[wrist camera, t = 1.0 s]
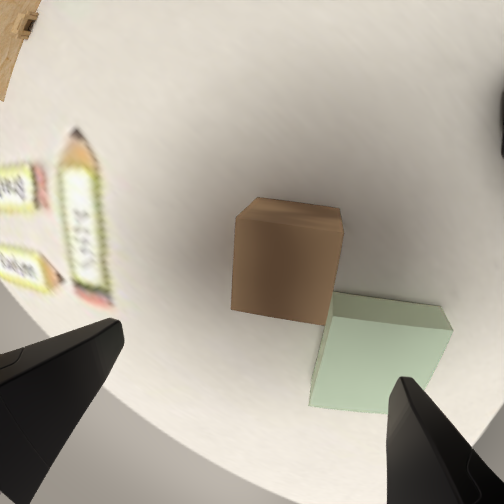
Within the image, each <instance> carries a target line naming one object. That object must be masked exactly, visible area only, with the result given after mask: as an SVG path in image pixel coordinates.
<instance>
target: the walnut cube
mask: <svg viewBox="0 0 504 504" xmlns="http://www.w3.org/2000/svg"><path fill="white" fill-rule="evenodd" d="M343 236H344V230H343V225H342V219H341V214H340V209H339V208H333V207H327V206H320V205H313V204H306V203H299V202H291V201H284V200H276V199H268V198H260V197H257V198H256V199H255V200H254V201H253V202H252V203H251V204H250V205H249V206H247V207H246V208H245V209H244V210H243V211H242V212H241V213H240V214H239V215H238V216H237V217H236V222H235V239H234V257H233V275H232V295H231V310H236V311H241V312H246V313H252V314H257V315H263V316H268V317H274V318H280V319H286V320H292V321H298V322H304V323H311V324H317V325H324V326H325V324H326V320H327V316H328V311H329V307H330V302H331V298H332V293H333V288H334V283H335V279H336V274H337V269H338V263H339V258H340V253H341V247H342V242H343Z"/></svg>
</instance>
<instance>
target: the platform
mask: <svg viewBox="0 0 504 504" xmlns="http://www.w3.org/2000/svg"><path fill="white" fill-rule="evenodd" d="M453 331H454V330H453V329H452V327H451V325H450V323H449V321H448V319H447V317H446V315H445V313H444V311H443V310H442V308H441V306H433V305H425V304H418V303H410V302H403V301H395V300H388V299H381V298H374V297H367V296H360V295H353V294H346V293H339V292H333V293H332V298H331V302H330V307H329V311H328V316H327V320H326V324H325V328H324V332H323V337H322V341H321V345H320V349H319V353H318V357H317V361H316V364H315V368H314V372H313V376H312V380H311V389H310V397H309V405H308V406H311V407H318V408H326V409H334V410H343V411H353V412H364V413H377V414H388V401H389V396H390V394H391V392H392V390H393V388H394V386H395V384H396V381H397V379H398V378H399V377H401V376H406V377H412V378H413V379H414V380H415V381H416V382H417V383H418V384H419V386H420V387H421V388H422V389H423V390H425V388H426V386H427V384H428V383H429V381H430V379H431V377H432V375H433V373H434V371H435V369H436V367H437V365H438V363H439V361H440V359H441V357H442V355H443V353H444V351H445V348H446V346H447V344H448V342H449V340H450V337H451V335H452V333H453Z"/></svg>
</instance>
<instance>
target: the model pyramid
mask: <svg viewBox="0 0 504 504" xmlns="http://www.w3.org/2000/svg"><path fill="white" fill-rule="evenodd" d="M40 2H41V0H0V100H1V101H3V102H4V98H5V95H6V91H7V88H8V84H9V81H10V77H11V74H12V71H13V68H14V65H15V62H16V59H17V56H18V54H19V51H20V48H21V46H22V43H23V40H24V39H28V38H29V35H30V33H31V32H30V31H28V28H29V26H30V24H31V21H32V20H36V19H37V17H38V13H35V12H36V10H37V8H38V6H39V4H40ZM26 35H28V36H26Z"/></svg>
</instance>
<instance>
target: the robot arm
mask: <svg viewBox="0 0 504 504" xmlns="http://www.w3.org/2000/svg"><path fill="white" fill-rule="evenodd" d="M503 125H504V123H503ZM502 155H503V157H504V136H503V146H502ZM123 346H124V334H123V329H122V324H121V322H120V321H119V320H116V319H113V318H107V319H104V320H101V321H98V322H96V323H93V324H90V325H87V326H84V327H81V328H78V329H75V330H72V331H70V332H67V333H64V334H61V335H58V336H55V337H52V338H49V339H46V340H43V341H40V342H37V343H34V344H32V345H28V346H25V348H24V347H22V348H20V349H16V350H13V351H10V352H7V353H4V354H0V494H1V493H4V494H5V495H6V496H7V497H8V498H9V499H10V500H12V501H13V502H14V503H15V504H30V502H31V500H32V499H33V497H34V495H35V493H36V492H37V490H38V488H39V486H40V485H41V483H42V481H43V480H44V478H45V476H46V474H47V473H48V471H49V469H50V467H51V466H52V464H53V462H54V461H55V459H56V457H57V456H58V454H59V452H60V451H61V449H62V448H63V446H64V444H65V443H66V441H67V439H68V438H69V436H70V435H71V433H72V432H73V429H74V428H75V427H76V425H77V424H78V422H79V420H80V419H81V417H82V416H83V414H84V413H85V411H86V409H87V408H88V406H89V405H90V403H91V402H92V400H93V399H94V397H95V396H96V394H97V393H98V391H99V390H100V388H101V387H102V385H103V383H104V382H105V380H106V378H107V377H108V375H109V373H110V371H111V369H112V367H113V365H114V363H115V361H116V359H117V357H118V356H119V354H120V352H121V350H122V348H123ZM386 454H387V504H504V482H503V481H502V480H501V479H500V478H499V477H498V476H497V475H496V474H495V473H494V472H493V471H492V470H491V469H490V468H489V467H488V466H487V465H486V464H485V462H484V461H483V460H482V459H481V458H480V457H479V455H478V454H477V453H476V452H475V450H474V449H472V447H471V446H470V444H469V443H468V442H467V441H466V440H465V438H464V437H463V436H462V435H461V434H460V432H459V431H458V430H457V429H456V428H455V426H454V425H453V424H452V423H451V422H450V420H449V419H448V418H447V417H446V416H445V415H444V413H443V412H442V411H441V410H440V409H439V408H438V406H437V405H436V404H435V403H434V402H433V401H432V399H431V398H430V397H429V396H428V395H427V394H426V392H425V391H424V390H423V389H422V388H421V387H420V386H419V384H418V383H417V382H416V381H415V380H414V379H413V378H412V377H406V376H401V377H399V378H398V379H397V381H396V384H395V386H394V388H393V390H392V392H391V394H390V396H389V401H388V422H387V437H386Z"/></svg>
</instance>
